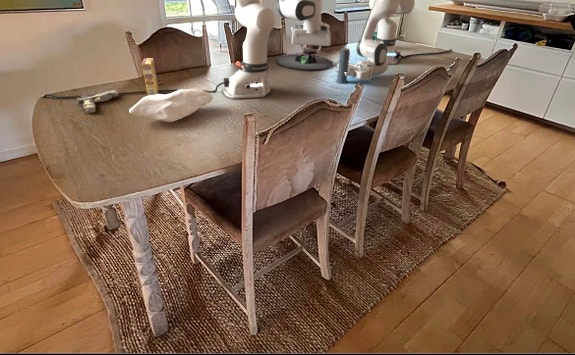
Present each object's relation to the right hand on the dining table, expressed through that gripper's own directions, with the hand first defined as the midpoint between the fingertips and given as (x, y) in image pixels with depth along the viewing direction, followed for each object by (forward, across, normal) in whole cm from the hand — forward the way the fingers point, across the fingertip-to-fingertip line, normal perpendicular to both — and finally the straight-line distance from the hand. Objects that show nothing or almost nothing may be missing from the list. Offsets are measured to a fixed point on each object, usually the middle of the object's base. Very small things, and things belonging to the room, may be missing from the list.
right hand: (341, 72), depth 190 cm
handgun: (+114, -18, +5) cm, 116 cm away
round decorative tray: (-2, -40, +5) cm, 40 cm away
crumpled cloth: (+90, +5, +5) cm, 90 cm away
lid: (+12, -13, -9) cm, 20 cm away
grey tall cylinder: (-1, 0, +5) cm, 5 cm away
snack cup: (-70, -52, +5) cm, 87 cm away
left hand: (+12, -12, -8) cm, 19 cm away
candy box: (+92, -20, +5) cm, 94 cm away
